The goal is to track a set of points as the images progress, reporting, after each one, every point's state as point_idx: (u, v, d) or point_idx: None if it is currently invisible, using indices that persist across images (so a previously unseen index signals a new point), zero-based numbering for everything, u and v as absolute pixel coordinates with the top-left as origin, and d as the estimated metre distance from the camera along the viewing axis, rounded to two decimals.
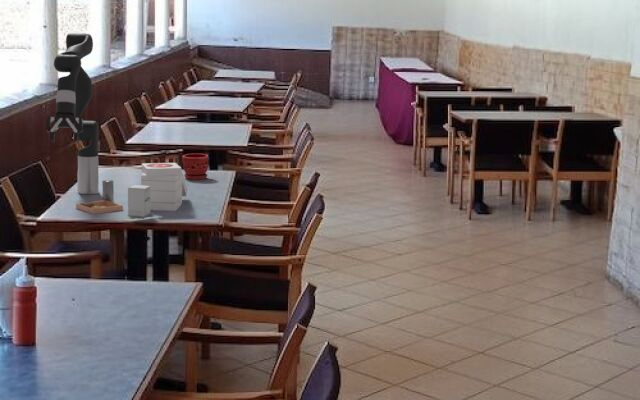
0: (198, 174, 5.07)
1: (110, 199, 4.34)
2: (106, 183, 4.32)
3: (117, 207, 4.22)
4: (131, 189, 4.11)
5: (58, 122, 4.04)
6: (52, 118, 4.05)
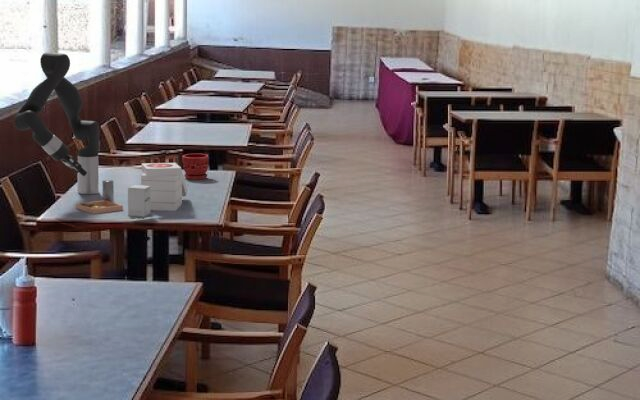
0: (198, 174, 5.07)
1: (110, 199, 4.34)
2: (106, 183, 4.32)
3: (117, 207, 4.22)
4: (131, 189, 4.11)
5: (64, 163, 4.24)
6: None
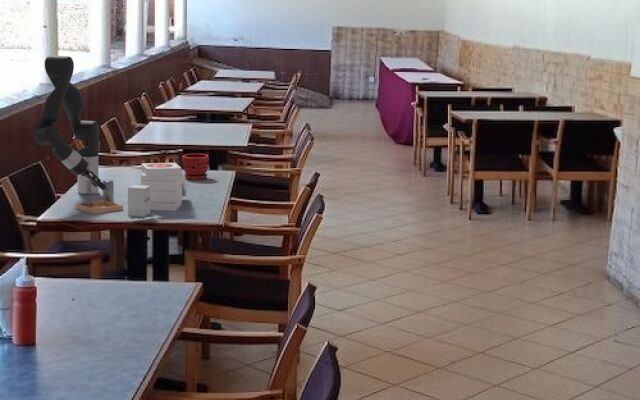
0: (198, 174, 5.07)
1: (110, 199, 4.34)
2: (106, 183, 4.32)
3: (117, 207, 4.22)
4: (131, 189, 4.11)
5: (83, 177, 4.30)
6: None
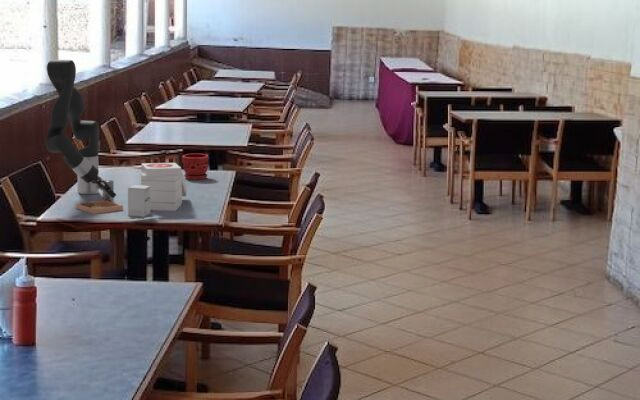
0: (198, 174, 5.07)
1: (110, 199, 4.34)
2: None
3: (117, 207, 4.22)
4: (131, 189, 4.11)
5: (94, 185, 4.33)
6: None
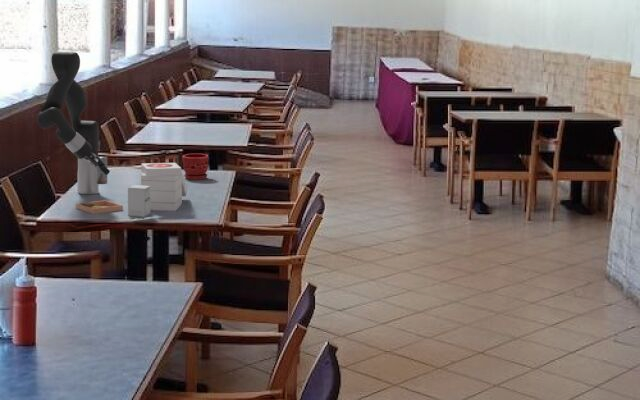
0: (198, 174, 5.07)
1: (104, 176, 4.23)
2: (100, 159, 4.21)
3: (117, 207, 4.22)
4: (131, 189, 4.11)
5: (88, 161, 4.22)
6: (85, 156, 4.24)
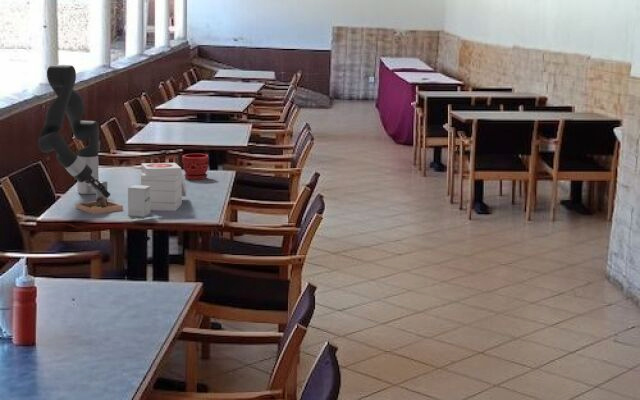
0: (198, 174, 5.07)
1: (104, 200, 4.25)
2: None
3: (117, 207, 4.22)
4: (131, 189, 4.11)
5: (88, 184, 4.24)
6: None
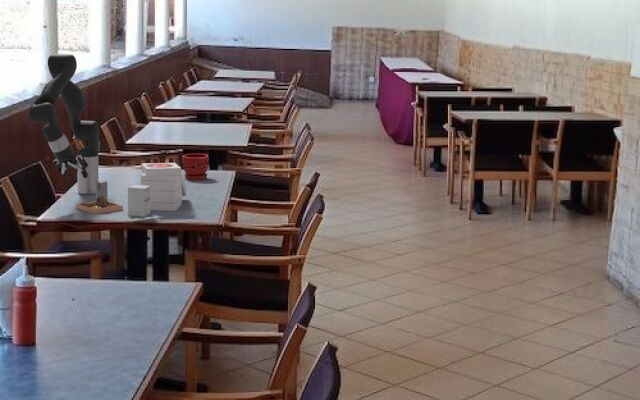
0: (198, 174, 5.07)
1: (104, 200, 4.25)
2: (100, 184, 4.23)
3: (117, 207, 4.22)
4: (131, 189, 4.11)
5: (63, 166, 4.16)
6: (57, 161, 4.17)
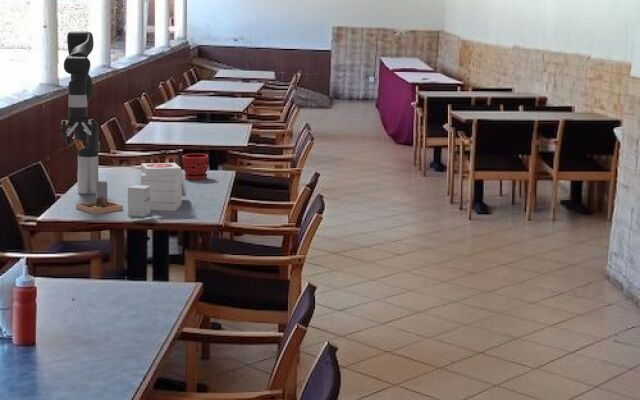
0: (198, 174, 5.07)
1: (104, 200, 4.25)
2: (100, 184, 4.23)
3: (117, 207, 4.22)
4: (131, 189, 4.11)
5: (74, 126, 4.15)
6: (66, 122, 4.14)
